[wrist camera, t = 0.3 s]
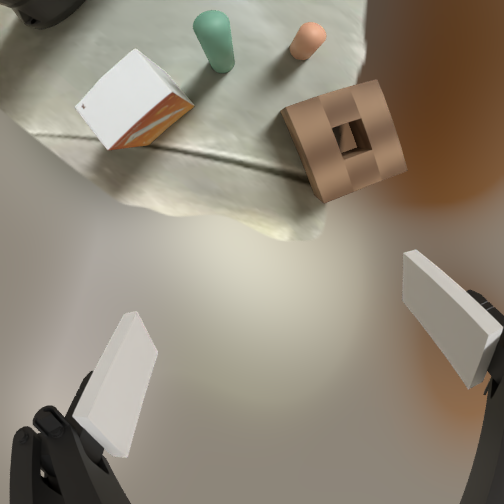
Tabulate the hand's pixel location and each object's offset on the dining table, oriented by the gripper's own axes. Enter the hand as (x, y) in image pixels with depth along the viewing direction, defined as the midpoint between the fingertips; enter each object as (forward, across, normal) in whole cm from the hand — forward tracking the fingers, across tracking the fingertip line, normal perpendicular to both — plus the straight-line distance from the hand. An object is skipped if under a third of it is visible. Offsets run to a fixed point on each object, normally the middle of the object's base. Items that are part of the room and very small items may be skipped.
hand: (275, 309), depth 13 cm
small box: (+27, -9, +14) cm, 32 cm away
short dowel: (+27, +10, +18) cm, 34 cm away
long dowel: (+27, 0, +18) cm, 32 cm away
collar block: (+27, +13, +5) cm, 30 cm away
